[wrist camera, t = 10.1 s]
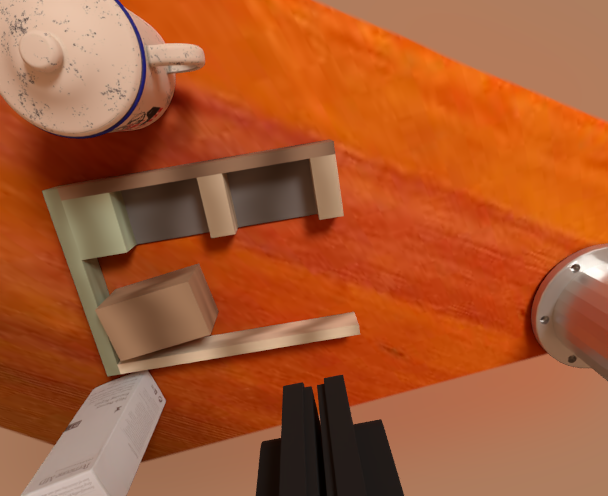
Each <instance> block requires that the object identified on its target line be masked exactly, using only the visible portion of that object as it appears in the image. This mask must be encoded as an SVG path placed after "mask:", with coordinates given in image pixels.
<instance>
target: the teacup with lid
mask: <svg viewBox="0 0 608 496" xmlns="http://www.w3.org/2000/svg"><path fill="white" fill-rule="evenodd" d="M204 64H205V56H204V52H203V50H202V49H201V48H200V47H198V46H196V45H192V44H179V43H174V44H165V42H164V40H163V39H162V38H161V36H160V35H159V34H158V33H157V31H156V30H155V29H154V28H153V27H152V26H150V25H149V24H148V23H147V22H145V21H144V20H142V19H141V18H140V17H138V16H137V15H135V14H134V13H132V12H131V11H129V10H128V9H127V8H125V7H124V6H123V5H122V4H121V3H120V2H119V1H118V0H0V94H1V96H2V97H3V98H4V99H5V101H6V102H7V103H8V104H9V105H10V106H11V108H12V109H14V110H15V111H16V112H17V113H18V114H19V115H20V116H21V117H23V118H24V119H25V120H27V121H28V122H30V123H31V124H33V125H34V126H36V127H38V128H40V129H42V130H44V131H46V132H48V133H51V134H54V135H57V136H61V137H67V138H76V139H81V138H92V137H96V136H100V135H103V134H106V133H108V132H120V131H132V130H137V129H141V128H144V127H146V126H148V125H150V124H152V123H153V122H155V121H156V120H157V119H159V118H160V117H161V116H162V115H163V113H164V112H165V111H166V109H167V108H168V106H169V104H170V102H171V100H172V97H173V94H174V89H175V80H176V79H175V73H183V72H190V71H195V70H198V69H200V68H202V67H203V66H204Z"/></svg>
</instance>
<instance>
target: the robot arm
mask: <svg viewBox="0 0 608 496" xmlns="http://www.w3.org/2000/svg"><path fill="white" fill-rule="evenodd" d="M531 323H532V329H533V332H534V335H535V337H536V340H537V341H538V343H539V344H540V345H541V347H542V348H543V349H544V350H545V351H546V352H547V353H548V354H549V355H550V356H552V357H553V358H555V359H556V360H558V361H559V362H561V363H563V364H566V365H568V366H573V367H578V368H592V369H594V370H595V371H596V372H597V373H598V374H600V375H601V376H602V377H603V378H605V379H606V380H607V381H608V244H601V245H595V246H591V247H588V248H585V249H582V250H579V251H578V252H576V253H574V254H572V255H570V256H568V257H567V258H566V259H564V260H563V261H562V262H560V263H559V264H558V265H556V267H555V268H554V269H553V270H552V271H551V272H550V273H549V274H548V275H547V276H546V278H545V279H544V281H543V282H542V283H541V285H540V287H539V289H538V291H537V293H536V295H535V298H534V302H533V305H532V311H531ZM317 389H318V400H319V411H320V420H319V416H318V412H317V407H316V403H315V399H314V394H313V390H312V387H311V386H310V387H304V384H303V382H302V383H297V384H291V385H286V386H283V404H282V431H281V438H279V439H274V440H269V441H263V442H262V444H261V449H260V459H259V469H258V479H257V489H256V496H404V494H403V490H402V487H401V483H400V480H399V477H398V473H397V470H396V467H395V463H394V460H393V457H392V453H391V450H390V446H389V443H388V440H387V436H386V433H385V430H384V426H383V423H382V420H375V421H370V422H365V423H359V424H354V425H353V422H352V417H351V412H350V407H349V402H348V397H347V392H346V387H345V383H344V378H343V375H339V376H333V377H328V378H324V384H321V385H317ZM320 422H321V425H320Z"/></svg>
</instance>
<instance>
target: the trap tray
mask: <svg viewBox="0 0 608 496" xmlns="http://www.w3.org/2000/svg"><path fill="white" fill-rule="evenodd" d="M42 193H43V195H44V198H45V201H46V204H47V207H48V210H49V212H50V215H51V218H52V221H53V224H54V227H55V229H56V232H57V235H58V238H59V241H60V243H61V246H62V249H63V252H64V255H65V258H66V260H67V263H68V266H69V269H70V272H71V275H72V277H73V280H74V283H75V286H76V289H77V291H78V294H79V297H80V300H81V303H82V306H83V308H84V311H85V314H86V317H87V320H88V322H89V325H90V328H91V331H92V334H93V337H94V339H95V342H96V345H97V348H98V351H99V354H100V356H101V359H102V362H103V365H104V368H105V370H106V373H107V376H113V375H119V374H125V373H131V372H137V371H143V370H149V369H155V368H161V367H167V366H173V365H179V364H185V363H191V362H197V361H203V360H209V359H215V358H221V357H227V356H233V355H239V354H245V353H251V352H257V351H263V350H269V349H275V348H281V347H287V346H293V345H299V344H305V343H311V342H317V341H323V340H329V339H335V338H341V337H347V336H353V335H359V334H360V330H359V324H358V321H357V318H356V315H355V313H354V312H351V313H345V314H339V315H333V316H327V317H321V318H315V319H309V320H303V321H297V322H291V323H285V324H279V325H273V326H267V327H261V328H255V329H249V330H243V331H237V332H231V333H225V334H220V335H214V336H208V337H202V338H198V339H194V340H191V341H188V342H184V343H181V344H178V345H174V346H171V347H168V348H164V349H161V350H158V351H154V352H151V353H148V354H144V355H141V356H138V357H134V358H131V359H128V360H124V361H120V359H119V357H118V355H117V353H116V351H115V349H114V347H113V345H112V343H111V341H110V339H109V337H108V335H107V333H106V331H105V329H104V327H103V325H102V323H101V321H100V319H99V317H98V315H97V314H96V312H95V309H96V308H97V307H98V306H99V305H100V304H101V303H102V302H103V301H104V300H105V299H106V298H107V297H108V296H109V292H108V289H107V286H106V283H105V280H104V277H103V274H102V271H101V268H100V265H99V262H98V259H97V257H103V256H109V255H115V254H121V253H127V252H128V251H129V250H131V249H132V248H133V247H134V246H135V245H137V244H142V243H148V242H154V241H160V240H166V239H172V238H178V237H183V236H189V235H195V234H201V233H207V232H210V236H211V238H216V237H221V236H227V235H233V234H236V231H237V229H238V227H243V226H248V225H254V224H260V223H266V222H272V221H278V220H284V219H290V218H296V217H302V216H308V215H313V214H318V217H319V220H322V219H328V218H334V217H340V216H344V214H343V207H342V200H341V192H340V185H339V178H338V171H337V163H336V156H335V149H334V142H333V141H332V140H325V141H319V142H313V143H307V144H301V145H295V146H290V147H284V148H278V149H272V150H266V151H260V152H254V153H249V154H243V155H237V156H231V157H225V158H219V159H213V160H208V161H202V162H196V163H190V164H184V165H178V166H172V167H167V168H161V169H155V170H149V171H143V172H137V173H131V174H125V175H120V176H114V177H108V178H102V179H96V180H90V181H84V182H79V183H73V184H67V185H61V186H57V187H53V188H50V189H46V190H43V191H42Z"/></svg>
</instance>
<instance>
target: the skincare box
mask: <svg viewBox="0 0 608 496" xmlns="http://www.w3.org/2000/svg"><path fill="white" fill-rule="evenodd" d="M165 403H166V400H165V398H164V397H163V395H162V393H161V391H160V389H159V388H158V386H157V384H156V382H155V381H154V379H153V377H152V376H151V374H150V373H149V371H148V370H143V371H138V372H135V373H132V374H129V375H126V376H124V377H121V378H118V379H115V380H113V381H110V382H108V383H106V384H103V385H101V386H98V387H96V388H95V389H93V390H92V392H91V393H90V395H89V396H88V398H87V399H86V401H85V402H84V404H83V405H82V406H81V408H80V409H79V411H78V412H77V414H76V415H75V417H74V418H73V420H72V421H71V423H70V424H69V426H68V427H67V428H66V430H65V431H64V433H63V434H62V436H61V437H60V439H59V440H58V442H57V443H56V444H55V446H54V447H53V449H52V450H51V452H50V453H49V455H48V456H47V458H46V459H45V461H44V462H43V463H42V465H41V466H40V468H39V469H38V471H37V473H36V474H35V475H34V477H33V478H32V480H31V481H30V483H29V484H28V486H27V487H26V488H25V490H24V491H23V493H22V494H21V496H127V493H128V491H129V489H130V486H131V484H132V481H133V479H134V477H135V474H136V472H137V470H138V467H139V465H140V462H141V460H142V458H143V455H144V453H145V451H146V448H147V446H148V443H149V441H150V439H151V436H152V434H153V431H154V429H155V427H156V424H157V422H158V419H159V417H160V415H161V412H162V410H163V408H164V405H165Z"/></svg>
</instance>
